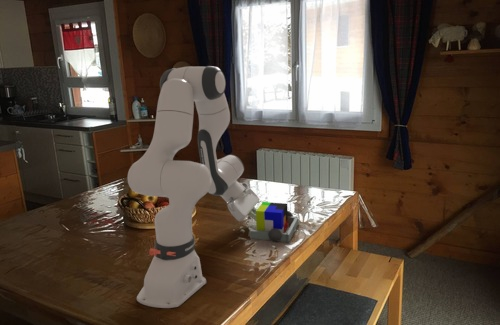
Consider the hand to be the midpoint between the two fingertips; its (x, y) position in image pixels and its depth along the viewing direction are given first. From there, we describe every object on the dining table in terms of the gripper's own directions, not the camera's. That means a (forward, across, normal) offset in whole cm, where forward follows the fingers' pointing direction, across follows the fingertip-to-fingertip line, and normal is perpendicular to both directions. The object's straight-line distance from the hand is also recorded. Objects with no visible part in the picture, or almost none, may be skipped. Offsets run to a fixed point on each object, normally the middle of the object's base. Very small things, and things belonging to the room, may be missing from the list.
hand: (258, 219), depth 169 cm
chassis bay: (+7, 0, -1) cm, 7 cm away
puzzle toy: (+7, 0, -1) cm, 7 cm away
